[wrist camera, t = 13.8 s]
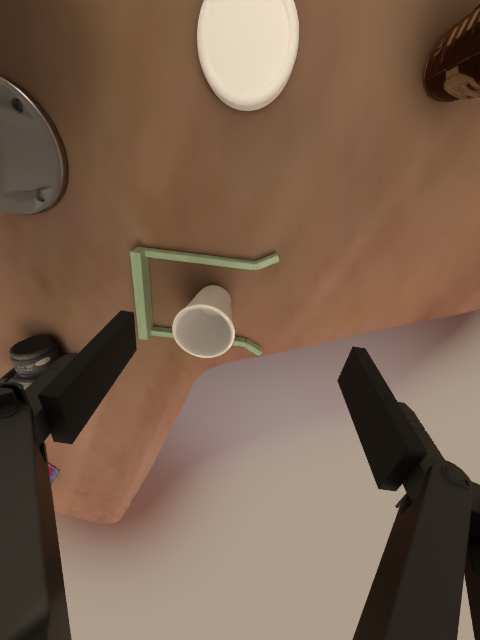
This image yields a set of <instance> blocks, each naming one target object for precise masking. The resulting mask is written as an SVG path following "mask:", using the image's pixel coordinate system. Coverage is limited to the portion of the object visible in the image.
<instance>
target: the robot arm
mask: <svg viewBox="0 0 480 640" xmlns="http://www.w3.org/2000/svg"><path fill="white" fill-rule="evenodd" d="M67 180H68V165H67V158H66V154H65V150H64V147H63V144H62V141H61V139H60V136H59V134H58V132H57V130H56V128H55V126H54V125H53V123H52V121H51V120H50V118H49V117H48V115H47V114H46V113H45V111H44V110H43V109H42V107H41V106H40V105H39V104H38V103H37V102H36V101H35V100H34V99H33V98H32V97H31V96H30V95H29V94H28V93H27V92H26V91H24V90H23V89H22V88H20V87H19V86H17V85H16V84H14V83H13V82H11V81H9V80H7V79H5V78H3V77H1V76H0V212H4V213H9V214H16V215H30V214H36V213H41V212H45V211H47V210H49V209H51V208H53V207H54V206H55V205H56V204H57V203H58V202H59V201H60V199H61V198H62V196H63V194H64V192H65V189H66V185H67ZM136 350H137V349H136V335H135V321H134V312H127V311H120V312H119V313H118V314H117V315H116V316H115V317H114V318H113V319H112V320H111V321H110V322H109V323H108V324H107V325H106V326H105V327H104V328H103V329H102V330H101V331H100V332H99V333H98V334H97V335H96V336H95V337H94V338H93V339H92V340H91V341H90V342H89V343H88V344H87V345H86V346H85V347H84V348H83V349H82V350H81V351H80V352H79V353H78V354H75V353H68V354H66V355H64V356H62V357H60V358H58V359H57V360H56V361H55V362H54V363H53V364H52V365H51V366H50V368H48V369H47V370H45V371H44V372H43V374H41V375H40V376H39V377H38V378H37V379H36V380H35V381H34V382H33V383H32V384H30V385H29V386H28V387H27V388H26V389H25V390H24V387H23V385H22V384H20V383H18V382H10V381H9V382H3V383H0V640H71V634H70V626H69V618H68V611H67V603H66V595H65V589H64V580H63V573H62V565H61V558H60V550H59V543H58V535H57V527H56V520H55V512H54V505H53V497H52V490H51V482H50V475H49V467H48V460H47V452H46V445H45V443H44V441H45V439H46V438H47V437H48V436H49V434H50V433H51V435H52V438H53V441H54V442H60V443H67V444H73V442H74V441H75V439H76V438H77V436H78V435H79V433H80V432H81V431H82V429H83V428H84V426H85V425H86V423H87V422H88V420H89V419H90V417H91V416H92V414H93V413H94V411H95V410H96V409H97V407H98V406H99V404H100V403H101V401H102V400H103V398H104V397H105V395H106V394H107V392H108V391H109V390H110V388H111V387H112V385H113V384H114V382H115V381H116V379H117V378H118V376H119V375H120V373H121V372H122V370H123V369H124V368H125V366H126V365H127V363H128V362H129V360H130V359H131V357H132V356H133V354H134V353H135V351H136ZM338 383H339V386H340V389H341V391H342V394H343V397H344V399H345V402H346V404H347V407H348V409H349V412H350V415H351V418H352V420H353V423H354V425H355V428H356V431H357V434H358V436H359V439H360V442H361V444H362V447H363V449H364V452H365V455H366V457H367V460H368V463H369V465H370V468H371V471H372V473H373V476H374V479H375V481H376V484H377V486H378V489H383V490H390V491H396V490H397V489H398V488H399V487H400V486H401V485H402V484H403V486H404V488H405V490H406V492H407V493H406V494H405V495H404V497H403V498H402V499H401V500H400V501H399V502H398V503H397V505H396V506H395V507H396V508H399V507H400V508H399V510H398V513H397V516H396V519H395V522H394V524H393V527H392V530H391V533H390V536H389V538H388V541H387V544H386V547H385V550H384V553H383V555H382V558H381V561H380V564H379V567H378V570H377V573H376V575H375V578H374V581H373V583H372V586H371V590H370V592H369V595H368V598H367V600H366V603H365V606H364V609H363V612H362V614H361V617H360V620H359V623H358V626H357V629H356V631H355V634H354V637H353V640H457V634H458V625H459V616H460V606H461V598H462V589H463V579H464V574H465V580H466V586H467V593H468V599H469V605H470V611H471V618H472V625H473V631H474V637H475V640H480V485H479V484H476V483H474V482H472V481H471V480H470V479H469V477H468V476H467V475H466V474H465V473H464V472H463V470H461V469H460V468H459V467H457V466H456V465H455V464H453V463H451V462H449V461H446V460H445V459H444V458H443V457H442V455H441V453H440V452H439V450H438V449H437V447H436V445H435V444H434V443H433V441H432V439H431V438H430V436H429V435H428V433H427V432H426V431H425V428H424V427H423V425H422V424H421V423H420V421H419V420H418V418H417V416H416V415H415V413H414V412H413V411H412V410H411V409H410V408H409V407H408V406H407V405H406V404H405V403H401V402H397V400H396V399H395V397H394V395H393V394H392V392H391V390H390V389H389V387H388V385H387V384H386V382H385V380H384V379H383V377H382V376H381V374H380V372H379V370H378V369H377V367H376V365H375V364H374V362H373V360H372V359H371V357H370V356H369V354H368V352H367V351H366V349H365V348H359V347H352V350H351V352H350V354H349V356H348V358H347V361H346V363H345V365H344V367H343V369H342V372H341V374H340V376H339V379H338Z"/></svg>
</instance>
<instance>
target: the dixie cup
mask: <svg viewBox="0 0 480 640" xmlns="http://www.w3.org/2000/svg"><path fill="white" fill-rule="evenodd" d="M172 331H173V336H174V338H175V340H176V342H177V343H178V345H179V346H180V347H181V348H182V349H183V350H185V351H186V352H188V353H189V354H191V355H194V356H197V357H202V358H212V357H216V356H219V355H221V354H223V353H225V352H226V351H227V350H228V349H229V348H230V347H231V345H232V343H233V341H234V337H235V330H234V326H233V323H232V307H231V297H230V295H229V293H228V292H227V291H226V290H225V289H224V288H222V287H220V286H217V285H209V286H206V287H204V288H203V289H202V290H201V291H200V292H199V293H198V294H197V295H196V296H195V297H194V298H193V300H192V301H191V302H190V303H189V304H188V305H187V306H186V307H185V308H184V309H182V310H181V311H180V312H179V313H178V314H177V315H176V317H175V319H174V321H173V326H172Z"/></svg>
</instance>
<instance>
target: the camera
mask: <svg viewBox="0 0 480 640" xmlns="http://www.w3.org/2000/svg"><path fill="white" fill-rule="evenodd" d="M10 354H11V360H12V362H13V364H14V368H13V369H12V370H10V371H9V372H8V373H7V374H5V375H4V376H3V377H2V378H1V379H0V383H3V382H9V381H10V382H18V383H20V384H22V385H23V387H24V390H25V389H26V388H27V387H28V386H29V385H30V384H32V383H33V382H34V381H35V380H36V379H37V378H38V377H39V376H40V375H41V374H43V372H44V371H45V370H47V369H48V368H50V366H51V365H52V364H53V363H54V362H55V361H56V360H57V359H58V358H60V357H62V355H61V353H60V351H59V349H58V348H57V346H56V345H55V343H54V342H53V340H52V338H50V337H48V336H35V337H31V338H27V339H25V340H23V341H20V342H18V343H17V344H15V345H14V346H13V347H12V348H11V349H10Z"/></svg>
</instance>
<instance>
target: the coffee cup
mask: <svg viewBox="0 0 480 640" xmlns="http://www.w3.org/2000/svg"><path fill="white" fill-rule="evenodd" d="M424 85H425V88H426V90H427V92H428V94H429V96H430V97H431V98H432V99H434V100H436V101H441V102H451V101H455V100H459V99H471V98H476V97H480V4H479V5H478V6H477V7H476V8H475V10H474V11H473V12H472V13H470V14H469V15H467V16H466V17H464V18H463V19H462V20H461V21H460V22H458V23H456V24H454V25H452V26H451V27H450V28H449V29H448V30H447V31H446V32H445V33H444V34H443V35H442V36H441V38H440V39H439V40H438V42H437V43H436V45H435V46H434V48H433V50H432V52H431V54H430V56H429V58H428V61H427V63H426V67H425V72H424Z"/></svg>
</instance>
